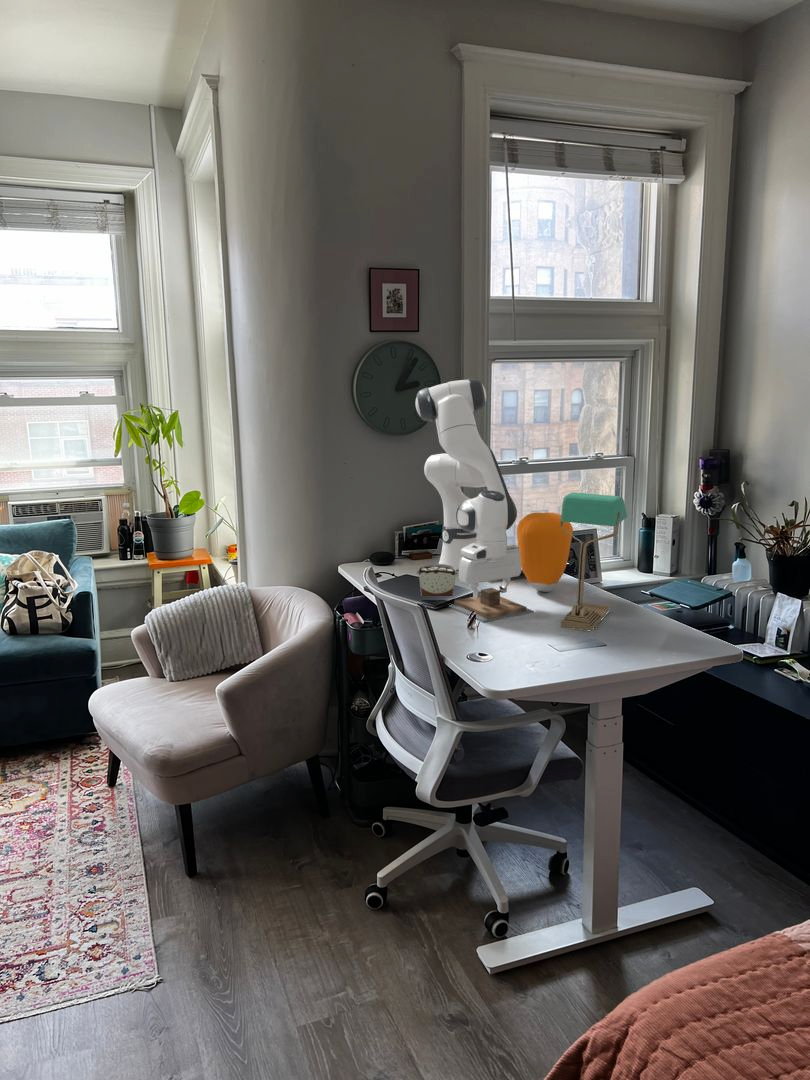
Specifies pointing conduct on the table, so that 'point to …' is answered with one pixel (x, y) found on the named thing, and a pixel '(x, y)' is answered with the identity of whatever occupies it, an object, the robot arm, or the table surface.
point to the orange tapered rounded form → (543, 548)
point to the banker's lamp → (586, 512)
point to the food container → (437, 579)
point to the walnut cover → (490, 604)
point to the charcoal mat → (489, 618)
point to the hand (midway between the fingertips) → (490, 594)
